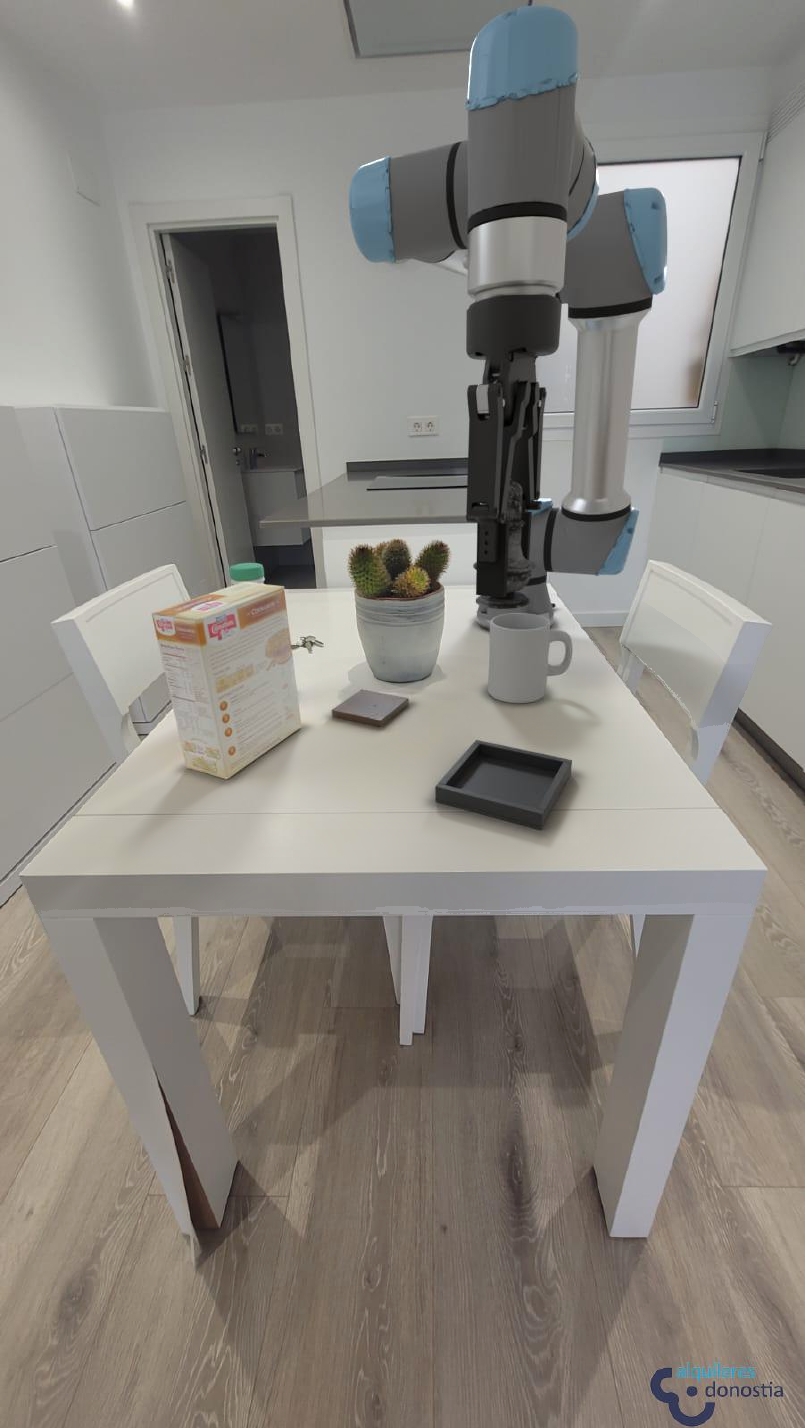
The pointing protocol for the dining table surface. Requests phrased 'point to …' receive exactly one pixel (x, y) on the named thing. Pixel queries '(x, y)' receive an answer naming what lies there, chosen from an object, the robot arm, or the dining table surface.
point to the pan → (505, 783)
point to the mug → (523, 657)
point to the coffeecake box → (229, 675)
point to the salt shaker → (512, 558)
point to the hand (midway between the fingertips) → (503, 586)
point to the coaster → (370, 707)
